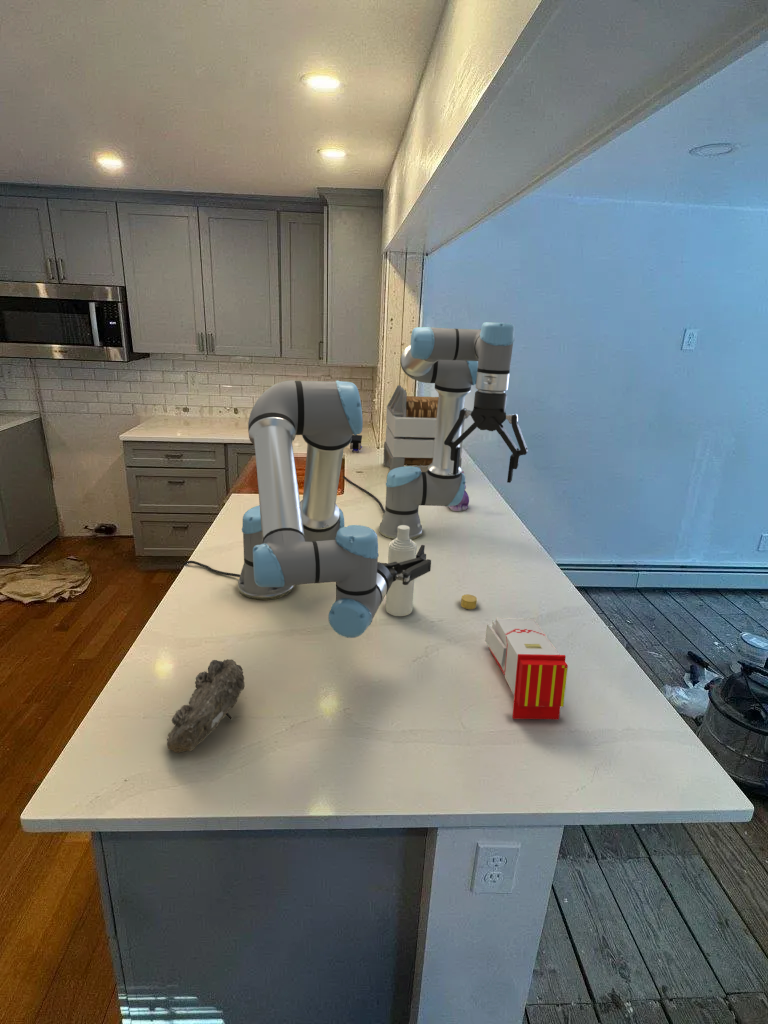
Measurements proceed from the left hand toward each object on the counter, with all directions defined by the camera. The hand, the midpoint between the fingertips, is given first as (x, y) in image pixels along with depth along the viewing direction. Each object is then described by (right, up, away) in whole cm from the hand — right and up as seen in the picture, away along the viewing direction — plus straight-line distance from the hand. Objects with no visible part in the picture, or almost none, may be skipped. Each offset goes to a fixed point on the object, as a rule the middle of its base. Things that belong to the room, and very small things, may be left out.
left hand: (394, 546), depth 134 cm
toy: (+27, -28, -10) cm, 40 cm away
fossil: (-35, -31, -26) cm, 54 cm away
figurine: (+27, +10, +94) cm, 99 cm away
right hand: (+22, +17, +7) cm, 28 cm away
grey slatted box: (+15, +27, +141) cm, 144 cm away
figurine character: (-18, +42, +178) cm, 184 cm away
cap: (+20, -15, +18) cm, 31 cm away
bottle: (+1, -18, +15) cm, 24 cm away
